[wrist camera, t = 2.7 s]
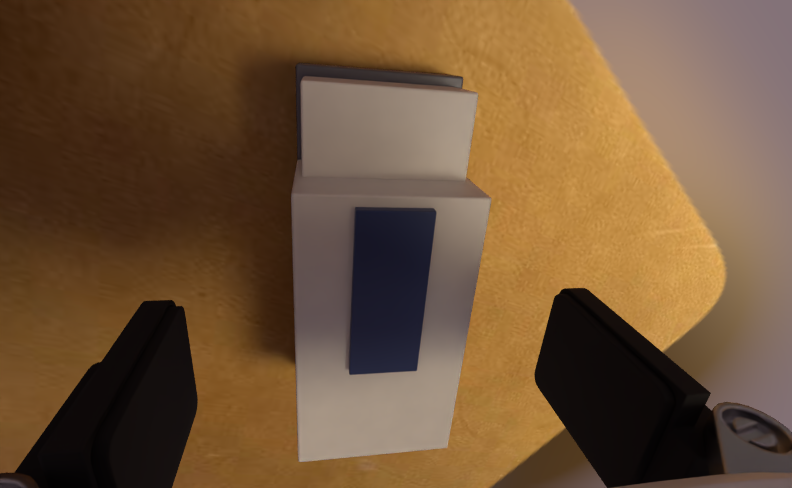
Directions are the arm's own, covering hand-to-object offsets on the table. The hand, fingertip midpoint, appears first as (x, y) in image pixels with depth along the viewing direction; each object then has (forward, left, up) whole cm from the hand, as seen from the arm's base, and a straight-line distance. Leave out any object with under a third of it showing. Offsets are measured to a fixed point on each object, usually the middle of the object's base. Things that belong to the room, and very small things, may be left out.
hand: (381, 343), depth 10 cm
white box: (0, 0, -6) cm, 6 cm away
